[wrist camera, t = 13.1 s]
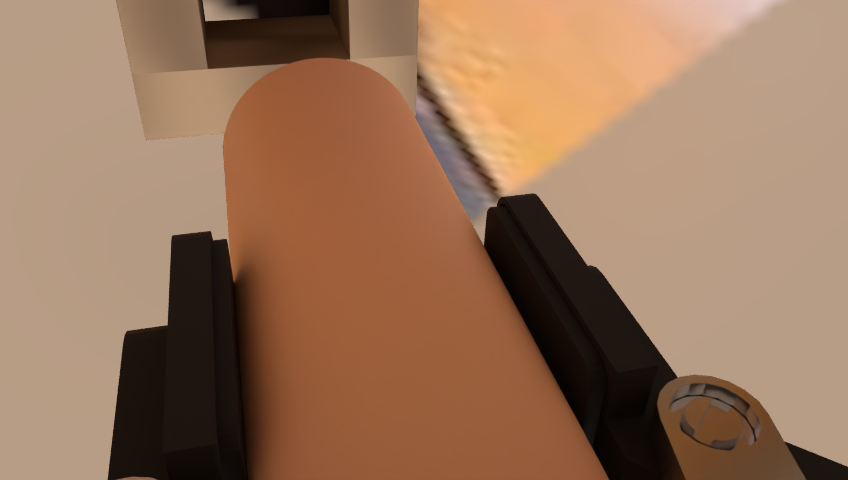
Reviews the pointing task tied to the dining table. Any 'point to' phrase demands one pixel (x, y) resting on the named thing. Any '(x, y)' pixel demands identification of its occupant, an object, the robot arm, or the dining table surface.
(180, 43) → the brown wooden compartment box
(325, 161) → the pin
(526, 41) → the dining table surface
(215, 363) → the robot arm
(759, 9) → the dining table surface
